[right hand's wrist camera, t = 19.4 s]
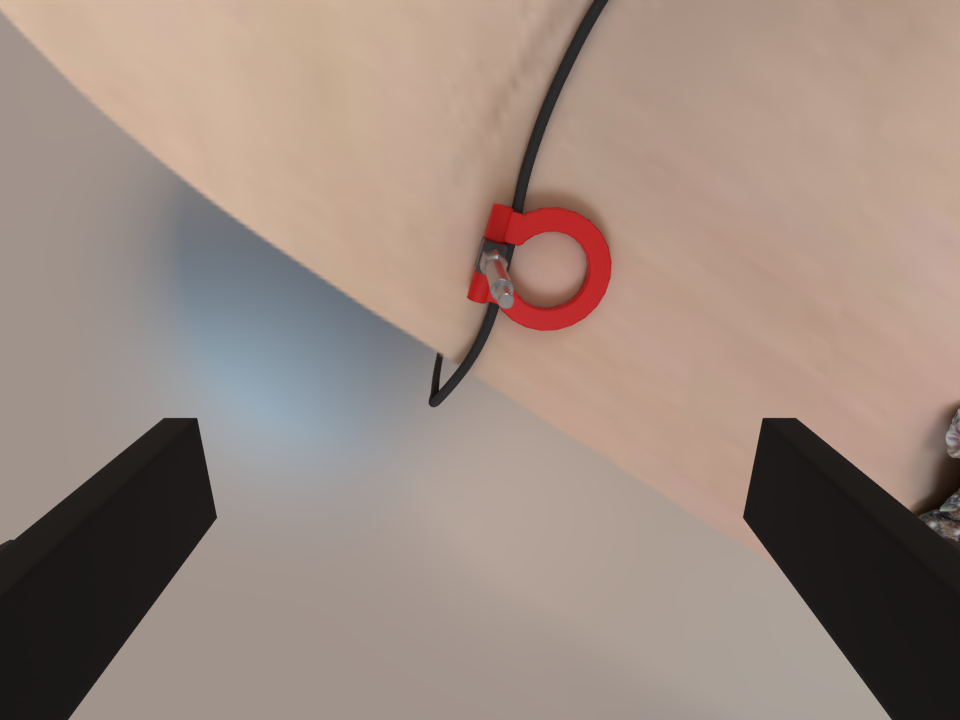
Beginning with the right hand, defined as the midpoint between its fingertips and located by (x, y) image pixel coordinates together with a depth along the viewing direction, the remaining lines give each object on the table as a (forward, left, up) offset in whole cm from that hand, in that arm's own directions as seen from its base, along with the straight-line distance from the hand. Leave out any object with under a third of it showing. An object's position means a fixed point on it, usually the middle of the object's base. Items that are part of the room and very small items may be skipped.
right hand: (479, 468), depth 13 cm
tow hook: (+2, -4, -27) cm, 27 cm away
